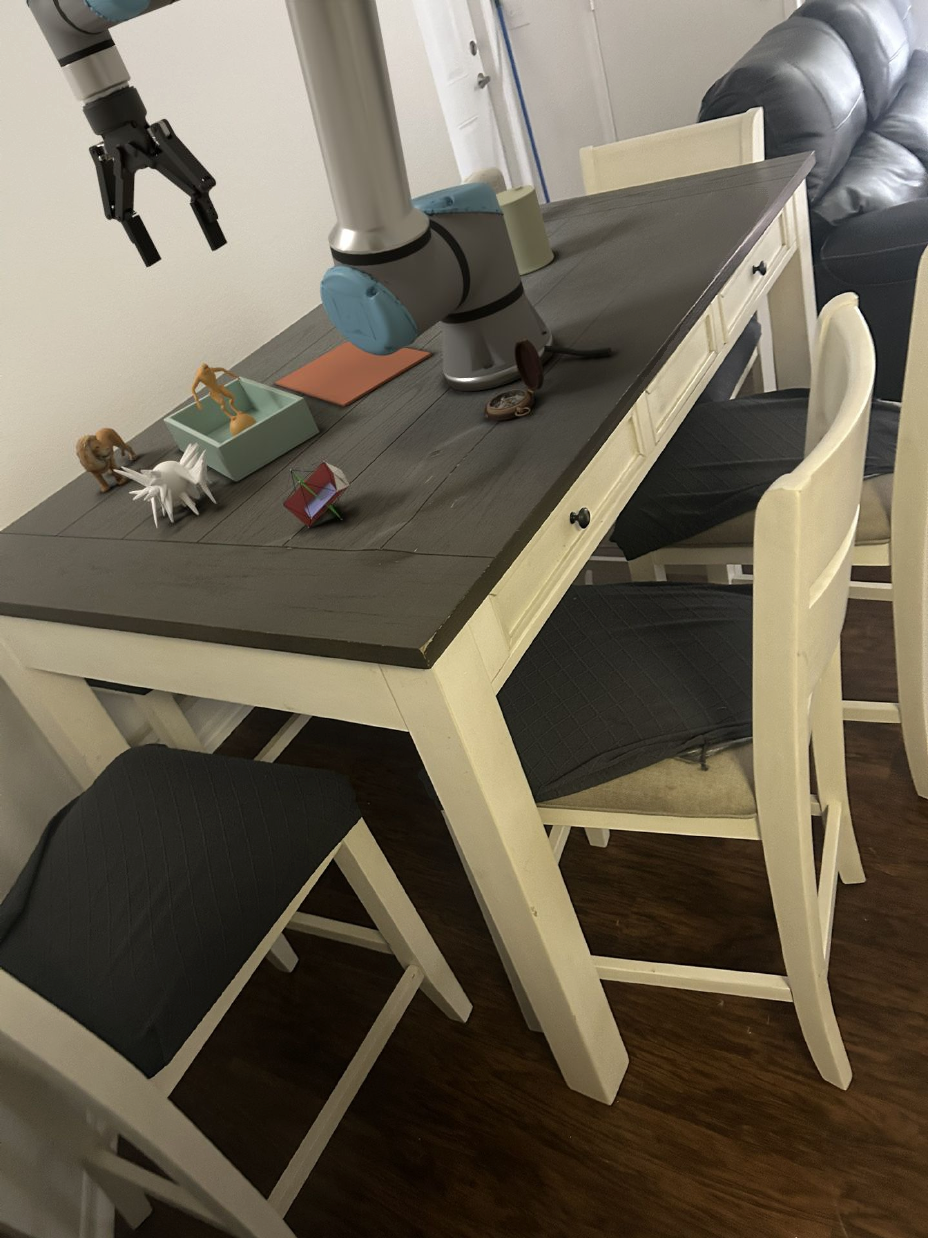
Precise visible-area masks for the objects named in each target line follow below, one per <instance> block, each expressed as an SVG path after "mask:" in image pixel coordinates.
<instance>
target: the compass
mask: <svg viewBox="0 0 928 1238" xmlns="http://www.w3.org/2000/svg"><path fill="white" fill-rule="evenodd" d="M514 352H515V361H516V365H517V369H518V372H519V374H520V377H521V378H520V379H521V381H522V382H523V384H524V386H525V387H526V389H527V390H524V389H519V388H517V389H516V388H515V389H510V390H505V391H503V392H501V393H498V394H497V395H495V396H494V397H493V398H491V399H490V400H489V402H488V403H487V405H486V406H485V408H484V413H485V417H486V419H488V420H491V421H506V420H511V419H514V418H517V417H523V416H525V415H528V414H529V413H530V412H531V408H532V406H533V405H534V402H535V396H534V394H535V392H536V391H538V390H540V389H542V388H543V385H544V380H545V374H544V373H545V372H544V367H543V365H542V363H541V359H540V357H539V354H538V352H537V350H536V349H535V347H534V346H533V344H532V343H531V342H530V341H528V340H527V339H523V340H520V341H518V342H517V343H516V345H515V351H514Z"/></svg>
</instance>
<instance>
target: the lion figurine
mask: <svg viewBox="0 0 928 1238" xmlns="http://www.w3.org/2000/svg"><path fill="white" fill-rule="evenodd" d="M114 447H116V448H118V449H119V451H120V456H121V457H125V456H126V455H127V454H126V452H127V453H128V455H129V460H130V461H131V462H133V461H135V460H137V459H138V455H137V454H136V453H135V451H134V450H133V448H132V446H130V444H127V443H126V442H125V441H124V440H123V439H122V437H121V436H120V435H119V434H118V433H117V431H116V430H115V429H113V428H110V427H103V428H101V429H99V430H98V431H97V432H95V434H91V435H90V434H88V435H83V436H81V438H79V439H78V441H77V442H76V445H75V449H76V450H75V454H76V456H77V457H78V459H79V463H80V465H81V466H82V467H83V469H84V470H85V471H86V472H87V473H91V474H92V476H93V477H94V478H95V479H96V481H97V482H98V483H99V484H100V485H101V486H102V487H101V489H100V490H101V492H102V493H107V492H108V491H109V490H110V484H109V483H108V482H107V480H106V479H105V478H104V477H103V474H106V473H107V472H108V473H109V474H110V475H113V477H114V479H115V481H116V482H117V484H118V485H121V486H122V485H123V484H125V483H127V481H128V480H127V479H126V478H125V477H124V475H121V474H119V473H117V472H115V471H114V470H119V468H118V466H117V459H116V458H115V457H114V455H115V452H114ZM125 451H126V452H125Z"/></svg>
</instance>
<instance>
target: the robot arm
mask: <svg viewBox="0 0 928 1238" xmlns="http://www.w3.org/2000/svg"><path fill="white" fill-rule="evenodd" d="M180 1H181V0H25V4H26V5H27V7H28V9H30V12H31V13H32V15H33V17H34V19H35V21H36V23H37V25H38V27H39V29H40V31H41V32H42V35H43V36H44V37H45V38H44V39H45V40H46V42H47V44H48V46H49V48H50V50H51V52H52V53H53V56H54V57H55V60H56V61H57V62H58V64H59V66H60V69H61V72H62V73H63V75H64V77H65V79H66V81H67V84H68V86H69V87H70V89H71V91H72V93H73V96H74V97H75V100H76V101H78V102H81V101H82V103H83V104H84V105H82V110H81V111H82V113H83V115H84V116H85V119H86V121H87V122H88V124H89V126H90V128H91V130H92V132H93V134H94V135H96V136H101V139H102V140H101V141H99V142H98V143H95V144H94V145H91V146H89V147H88V152H89V154H90V157H91V159H92V161H93V163H94V166H95V167H94V168H95V172H96V176H97V182H98V188H99V193H100V197H101V203H102V209H103V213H104V217H105V218H106V219H107V220H108V221H111V220H115V221H117V222H119V223H120V224H121V225H122V228H123V229H124V231H125V233H126V235H127V237H128V239H129V241H130V242H131V243H132V244H133V245H134V246H135V248H136V250H137V251H138V254H139V256H140V258H141V260H142V262H143V263H144V265H145V268H149V267H152V266H154V265H155V264H157V263H159V262H160V261H161V260H162V256H161V255H160V253H159V251H158V249H157V247H156V245H155V242H154V241H153V239H152V237H151V234H150V233H149V231H148V229H147V228H146V225H145V224H144V222H143V221H144V220H143V219H142V217H141V215H140V214H137V213H138V212H137V211H136V210H135V209H134V207H135V184H136V183H135V182H136V181H135V180H136V179H135V178H136V174H137V172H138V171H140V170H145V169H147V168H149V169H151V170H156V171H157V172H158V173H159V174H161V175H162V176H163V177H164V178H166V179H167V180H169V182H171V183H172V184H173V185H175V186H176V187H177V188H179V189H180V190H181V191H182V192H183V193H185V194H186V195H188V197H190V200H189V206H190V208H191V210H192V212H193V214H194V216H195V218H196V221H197V223H198V224H199V227H200V229H201V231H202V233H203V235H204V237H205V239H206V241H207V243H208V246H209V247H210V250H211V252H215V251H218V250H219V249H221V248H222V247H223V246H225V245H227V244H228V241H227V238H226V235H225V234H224V231H223V230H222V227H221V225H220V222H219V214H218V212H217V209H216V207H215V205H214V203H213V201H212V199H211V197H210V192H211V190H212V189H213V188H215V187H216V186H217V180H216V178H214V176H213V175H212V174H211V172H209V171H208V169H207V168H206V167H205V166H204V165H203V164H202V162H200V161H199V159H198V158H197V157H196V156H195V155H194V153H192V151H191V150H190V149H189V148H188V147H187V146H186V145H185V144H184V142H183V141H182V140H181V139H180V138H179V137H178V135H177V133H176V132H175V130H174V129H173V127H172V126H171V124H170V122H169V121H168V119H166V118H162V119H159V120H157V121H155V122H153V123H151V124H150V123H149V122H148V121H147V118H146V117H147V115H148V110H147V108H146V106H145V104H144V101H143V99H142V97H141V95H140V93H139V90H138V88H137V87H135V86H134V85H131V86H130V84H129V81H131V78H132V77H131V75H130V73H129V71H128V69H127V67H126V64H125V62H124V61H123V58H122V55H121V54H120V52H119V50H118V47H117V45H116V43H115V40H114V39H113V36H112V35H111V32H110V30H109V29H111V28H113V27H116V26H118V25H120V24H123V23H125V22H129V21H130V20H133V19H136V18H138V17H141V16H144V15H147V14H149V13H152V12H154V11H157V10H159V9H162V8H165V7H167V6H171V5H173V4H174V3H177V2H180ZM284 3H285V8H286V11H287V16H288V21H289V25H290V28H291V32H292V37H293V41H294V45H295V50H296V54H297V57H298V62H299V66H300V71H301V75H302V78H303V83H304V87H305V91H306V95H307V100H308V104H309V108H310V113H311V116H312V121H313V124H314V128H315V133H316V138H317V141H318V145H319V150H320V153H321V157H322V162H323V166H324V167H323V168H324V169H325V174H326V178H327V179H326V180H327V183H328V187H329V192H330V196H331V199H332V204H333V209H334V212H335V216H336V222H335V224H334V225H333V227H332V228H331V230H330V232H329V234H328V237H327V241H328V245H329V249H330V252H331V258H332V261H333V266H332V267H330V268H328V269H327V270H326V271H325V273H324V275H323V276H322V280H321V281H320V283H319V295H320V300H321V304H322V306H323V309H324V311H325V313H326V315H327V317H328V318H329V320H330V322H331V324H332V325H333V326H334V327H335V329H336V330H337V331H338V332H339V333H340V334H341V336H343V337H344V338H345V339H346V340H347V341H349V342H350V343H352V344H353V345H354V346H356V347H357V348H359V349H361V350H363V351H365V352H367V353H370V354H373V355H378V356H386V355H391V354H393V353H395V352H397V351H398V350H400V349H401V348H403V347H404V348H406V347H407V346H411V345H413V344H414V343H415V342H416V340H417V339H418V338H419V337H420V336H423V334H425V333H426V332H427V331H429V330H431V328H433V327H434V326H435V325H437V324H438V323H440V326H441V350H442V352H441V353H442V371H443V374H444V378H445V381H446V383H447V385H448V387H450V388H451V389H453V390H457V391H462V392H475V391H476V392H477V391H482V390H483V391H484V390H489V389H494V388H497V387H500V386H504V385H507V384H509V383H512V382H515V381H517V380H519V379H521V377H520V374H519V372H518V369H517V365H516V361H515V352H514V351H515V345H516V343H517V342H518V341H520V340H523V339H527V340H528V341H530V342H531V343H532V344H533V346H534V347H535V349H536V350H537V352H538V354H539V357H540V359H541V363H542V366H543V365H544V364H545V363H547V361H549V359H550V358H551V357H552V356H553V354H563V355H569V356H575V357H598V356H606V355H611V354H612V348H611V347H604V348H602V347H601V348H596V349H575V348H571V347H569V348H568V347H564V346H555V343H554V339H553V336H552V332H551V330H550V329H549V327H548V326H547V325H546V323H545V322H544V320H543V319H542V318H541V316H540V315H539V313H538V311H537V309H536V308H535V307H534V305H533V304H532V302H531V301H530V299H529V298H528V297H527V294H526V292H525V288H524V285H523V281H522V278H521V275H520V274H519V270H518V267H517V263H516V259H515V256H514V252H513V249H512V245H511V241H510V238H509V234H508V231H507V227H506V223H505V220H504V216H503V215H504V213H503V211H502V210H501V208H500V205H499V202H498V199H497V197H496V194H495V191H494V190H493V188H492V187H491V186H489V185H488V184H486V183H482V182H477V183H469V184H464V185H460V184H458V185H455V186H450V187H447V188H446V187H445V188H443V189H439V190H435V191H432V192H428V193H425V194H423V195H422V194H421V195H420V196H417V197H414V198H412V193H411V188H410V183H409V177H408V172H407V166H406V161H405V156H404V150H403V145H402V139H401V133H400V128H399V122H398V116H397V111H396V105H395V100H394V95H393V94H394V93H393V89H392V82H391V79H390V73H389V67H388V61H387V55H386V50H385V45H384V40H383V34H382V33H383V32H382V28H381V21H380V16H379V12H378V5H377V0H284Z"/></svg>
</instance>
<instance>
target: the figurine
mask: <svg viewBox="0 0 928 1238" xmlns="http://www.w3.org/2000/svg"><path fill="white" fill-rule="evenodd" d="M220 372H223V373H225V374H226V375H229V376H231V377H233V378H235V379H237V378H238V380H240V381H241V382H242V380H241V379H240V378H239V377H240V376H238V375H236V374H235V373H234V372H231V371H229V370H227V369H226V368H224V367H220V366H219V367H213V366H212V367H210V366H209V365H208V364H207V363H202V364H201V366H200V367H198V368H197V369H196V371H195V377H194V381H193V383H192V385H191V388H190V392H191V394H192V396H193V398H194V402H195V401H196V403H197V406H198V408H199V409H200V410H202V408H203V407H202V406H201V405H203V404H200V403H199V396H198V395H197V392H196V389H197V388H198V386H199V384H200V383H201V384H203V385H204V386H205V387H206V388H207V389H209V390H210V391H209V392H208V394H209V395H210V397H211V398H213V399H214V400H215V401H216V402H217V403H219V404H221V405H222V406H221V409H222V410H223V411H224V413H225V414H226V415H227V416H228V417H229V418H230V419H231V422H230V432H231V434H232V436H235V435H237V434H238V433H240V432H242V431H244V430H245V429H247V428H249V427H250V426H252V425H254V424H256V423H257V421H256V420H255V419H254V417H252V416H251V415H249V414H245V413H243V412H241V411H239V410H238V409H237V408H236V407H235V406H234V405H233V404H234V395H233V394H232V393H231V392H230V391H228V390H227V389H226V388H225V386H224V385H225V384H223V383H220V384H219V383H218V380H217V376H216V374H215V373H220ZM220 392H221V393H222V395H223V396H225V397H229V398H230V401H229V404H230V406H231V408H232V409H233V410H234V411H235V412H236V413H237V415H236V416H233V415H231V414H230V413H229V412H228V411H227V410H226V404H225V401H224V399H223V397H222V395H221V394H220ZM201 407H202V408H201ZM203 409H204V408H203Z"/></svg>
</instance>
